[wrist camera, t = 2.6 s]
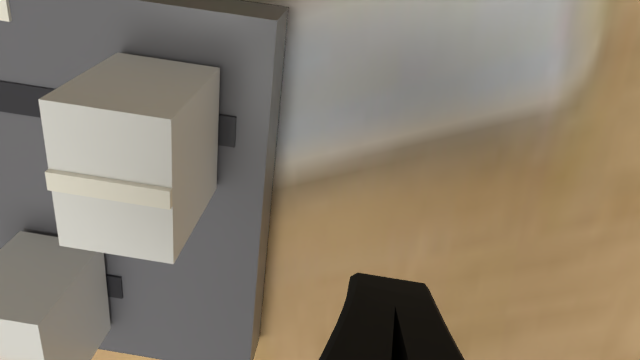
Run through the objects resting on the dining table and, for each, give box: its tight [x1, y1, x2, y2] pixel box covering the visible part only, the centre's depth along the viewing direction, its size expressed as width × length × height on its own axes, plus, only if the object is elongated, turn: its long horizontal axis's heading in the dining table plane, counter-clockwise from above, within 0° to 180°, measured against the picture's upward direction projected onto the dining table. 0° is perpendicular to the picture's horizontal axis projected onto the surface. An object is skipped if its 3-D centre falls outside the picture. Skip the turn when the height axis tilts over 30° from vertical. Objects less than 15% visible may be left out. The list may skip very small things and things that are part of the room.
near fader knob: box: [38, 53, 220, 264], centre depth 14 cm, size 3×4×4 cm
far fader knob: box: [0, 231, 111, 360], centre depth 18 cm, size 3×4×4 cm
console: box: [0, 0, 289, 360], centre depth 19 cm, size 17×14×2 cm
